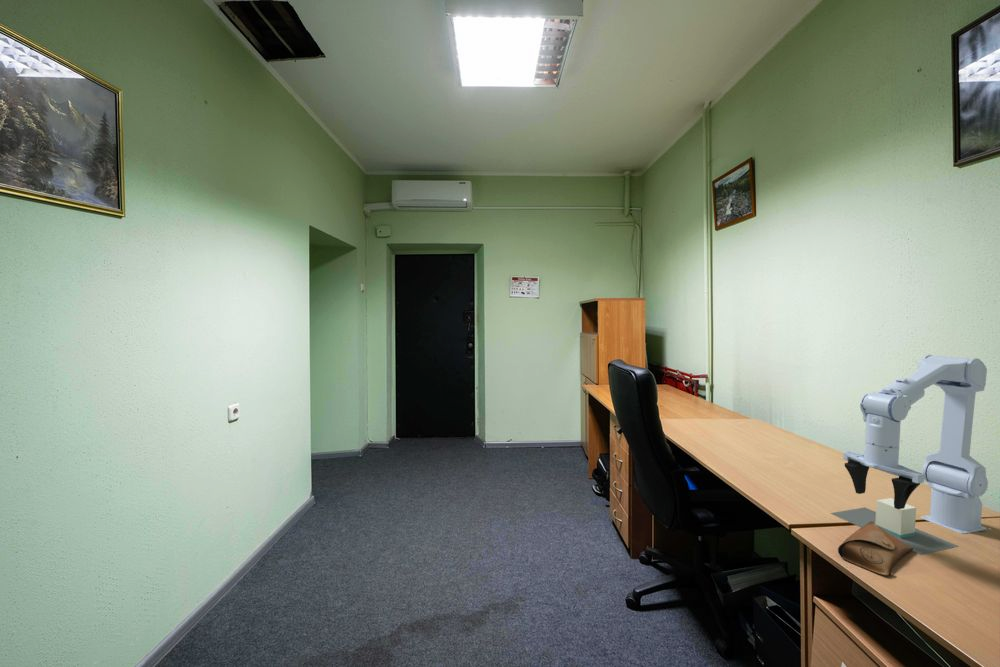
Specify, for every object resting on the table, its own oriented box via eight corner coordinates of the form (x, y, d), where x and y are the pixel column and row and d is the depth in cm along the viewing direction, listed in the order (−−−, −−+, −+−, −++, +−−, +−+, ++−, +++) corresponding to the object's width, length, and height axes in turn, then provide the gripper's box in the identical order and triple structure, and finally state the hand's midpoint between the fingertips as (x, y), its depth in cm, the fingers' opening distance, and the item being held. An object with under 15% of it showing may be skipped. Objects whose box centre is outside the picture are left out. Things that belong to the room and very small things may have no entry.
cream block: (889, 524, 97) (890, 498, 97) (914, 535, 92) (916, 507, 92) (875, 527, 96) (876, 500, 96) (900, 538, 91) (901, 510, 91)
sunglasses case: (891, 577, 77) (869, 541, 80) (851, 577, 82) (832, 543, 85) (915, 548, 86) (895, 516, 89) (878, 549, 92) (860, 520, 94)
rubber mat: (864, 508, 106) (864, 507, 106) (958, 547, 88) (958, 546, 88) (830, 514, 103) (830, 513, 103) (920, 556, 85) (920, 554, 85)
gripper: (835, 435, 96) (832, 488, 96) (909, 456, 82) (906, 518, 82) (855, 433, 97) (853, 485, 98) (932, 453, 83) (928, 513, 84)
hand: (878, 500), depth 90 cm, fingers open, 7 cm apart
